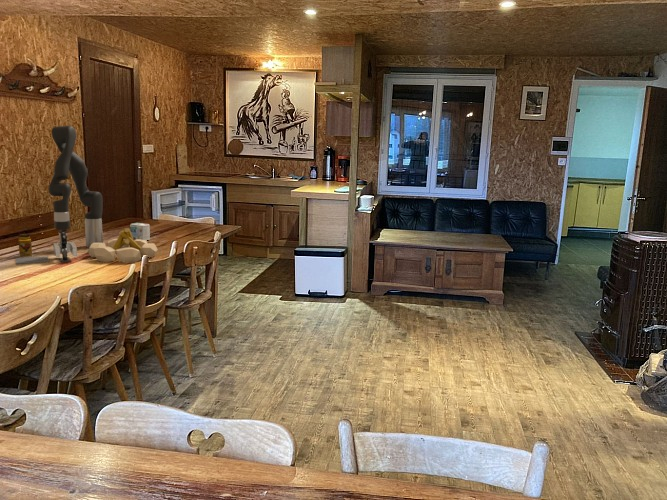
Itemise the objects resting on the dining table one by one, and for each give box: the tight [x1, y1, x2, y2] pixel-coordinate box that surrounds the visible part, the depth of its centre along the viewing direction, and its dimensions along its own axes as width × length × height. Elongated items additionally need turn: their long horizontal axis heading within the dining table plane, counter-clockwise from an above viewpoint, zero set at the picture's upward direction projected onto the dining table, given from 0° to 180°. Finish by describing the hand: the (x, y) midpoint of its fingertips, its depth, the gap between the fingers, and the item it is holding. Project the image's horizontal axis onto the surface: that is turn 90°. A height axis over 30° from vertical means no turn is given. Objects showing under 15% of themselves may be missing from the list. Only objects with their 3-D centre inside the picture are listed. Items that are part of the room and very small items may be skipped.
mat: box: [15, 256, 50, 265], centre depth 286 cm, size 15×13×1 cm
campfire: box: [87, 227, 159, 264], centre depth 304 cm, size 35×34×17 cm
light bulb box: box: [129, 222, 151, 242], centre depth 352 cm, size 11×7×11 cm, turn 68°
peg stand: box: [60, 248, 71, 263], centre depth 287 cm, size 4×4×7 cm
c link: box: [52, 241, 78, 258], centre depth 291 cm, size 14×10×5 cm
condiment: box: [15, 233, 35, 258], centre depth 295 cm, size 7×8×12 cm
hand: (64, 251), depth 296 cm, fingers closed on c link
